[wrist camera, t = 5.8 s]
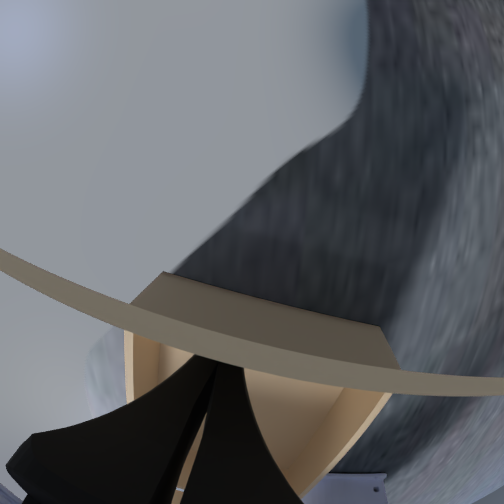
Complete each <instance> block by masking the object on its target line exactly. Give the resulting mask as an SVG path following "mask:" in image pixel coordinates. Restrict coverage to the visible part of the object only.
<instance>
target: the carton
mask: <svg viewBox="0 0 504 504" xmlns="http://www.w3.org/2000/svg"><path fill="white" fill-rule="evenodd" d="M130 305H133V306H136V307H139V308H141V309H144V310H147V311H150V312H153V313H156V314H159V315H162V316H165V317H168V318H171V319H174V320H178V321H181V322H184V323H187V324H190V325H194V326H197V327H200V328H204V329H207V330H211V331H214V332H218V333H221V334H225V335H229V336H232V337H236V338H240V339H244V340H247V341H251V342H255V343H259V344H263V345H268V346H272V347H276V348H280V349H285V350H289V351H294V352H298V353H303V354H308V355H313V356H318V357H323V358H328V359H333V360H339V361H344V362H350V363H356V364H362V365H368V366H375V367H382V368H389V369H396V370H401V368H400V366H399V364H398V362H397V360H396V358H395V356H394V354H393V352H392V350H391V348H390V346H389V344H388V342H387V340H386V338H385V336H384V334H383V332H382V330H381V328H380V326H375V325H370V324H365V323H361V322H356V321H352V320H347V319H343V318H338V317H334V316H330V315H325V314H321V313H317V312H313V311H308V310H304V309H300V308H296V307H292V306H288V305H284V304H280V303H276V302H272V301H268V300H264V299H260V298H256V297H253V296H249V295H245V294H241V293H238V292H234V291H230V290H227V289H223V288H219V287H216V286H212V285H209V284H205V283H201V282H198V281H194V280H191V279H188V278H184V277H181V276H177V275H174V274H171V273H167V272H164V271H163V272H162V273H161V274H160V275H159V276H158V277H157V278H156V279H155V280H154V281H153V282H152V283H151V284H150V285H148V286H147V288H145V289H144V290H143V291H142V292H141V293H140V294H139V295H138V296H137V297H136V298H135V299H134V300H133V301H132V302H131V303H130ZM124 349H125V380H126V397H127V404H128V403H130V402H132V401H134V400H135V399H137V398H139V397H141V396H142V395H144V394H145V393H147V392H149V391H150V390H152V389H153V388H154V387H156V386H157V385H159V384H160V383H161V382H163V381H164V380H165V379H167V378H168V377H169V376H171V375H172V374H173V373H174V372H175V371H177V370H178V369H179V368H180V367H181V366H182V365H184V364H185V363H186V362H187V361H188V360H189V359H190V358H191V357H192V356H193V355H194V354H193V353H190V352H186V351H183V350H180V349H177V348H174V347H171V346H168V345H165V344H162V343H159V342H156V341H153V340H151V339H148V338H145V337H142V336H139V335H137V334H134V333H131V332H129V331H126V330H124ZM244 373H245V380H246V385H247V390H248V394H249V398H250V402H251V405H252V409H253V412H254V415H255V418H256V421H257V424H258V426H259V429H260V431H261V434H262V436H263V438H264V440H265V443H266V445H267V447H268V449H269V451H270V453H271V455H272V457H273V459H274V460H275V462H276V464H277V465H278V467H279V469H280V470H281V472H282V473H283V475H284V477H285V478H286V480H287V481H288V483H289V484H290V486H291V487H292V489H293V490H294V491H295V493H296V494H297V495H298V497H299V498H300V499H302V498H303V497H304V496H305V495H306V494H307V493H308V492H309V491H310V490H311V489H312V488H313V487H315V486H316V485H317V484H318V483H319V482H320V481H321V480H322V479H323V478H324V477H325V476H326V475H327V473H328V472H329V471H330V470H331V469H332V468H333V467H334V466H335V465H336V464H337V463H338V462H339V461H340V460H341V458H342V457H343V456H344V455H345V454H346V453H347V452H348V451H349V449H350V448H351V447H352V446H353V445H354V444H355V442H356V441H357V440H358V439H359V438H360V436H361V435H362V434H363V433H364V431H365V430H366V429H367V428H368V426H369V425H370V424H371V422H372V421H373V420H374V419H375V417H376V416H377V415H378V413H379V412H380V410H381V409H382V408H383V406H384V405H385V404H386V402H387V401H388V399H389V398H390V396H391V395H392V393H385V392H375V391H367V390H358V389H351V388H344V387H337V386H331V385H324V384H318V383H313V382H307V381H302V380H297V379H292V378H287V377H282V376H277V375H273V374H268V373H264V372H259V371H255V370H251V369H247V368H244ZM205 419H206V415H205V417H204V420H203V422H202V424H201V426H200V429H199V431H198V433H197V436H196V438H195V440H194V442H193V445H192V447H191V449H190V451H189V454H188V456H187V458H186V461H185V463H184V466H183V468H182V471H181V474H180V477H179V481H178V484H177V488H181V489H184V490H185V487H186V484H187V481H188V478H189V475H190V472H191V469H192V466H193V463H194V460H195V457H196V454H197V451H198V448H199V445H200V442H201V439H202V435H203V429H204V424H205Z"/></svg>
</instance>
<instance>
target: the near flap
mask: <svg viewBox="0 0 504 504" xmlns="http://www.w3.org/2000/svg"><path fill="white" fill-rule="evenodd" d="M0 270H1V271H2V272H4V273H6V274H7V275H9V276H11V277H13V278H15V279H16V280H18V281H20V282H22V283H24V284H25V285H27V286H29V287H31V288H33V289H35V290H37V291H39V292H41V293H43V294H45V295H47V296H49V297H51V298H53V299H55V300H57V301H59V302H61V303H63V304H65V305H67V306H70V307H72V308H74V309H76V310H78V311H81V312H83V313H85V314H87V315H90V316H92V317H94V318H97V319H99V320H101V321H104V322H106V323H109V324H111V325H114V326H116V327H119V328H121V329H124V330H126V331H129V332H131V333H134V334H137V335H139V336H142V337H145V338H148V339H151V340H153V341H156V342H159V343H162V344H165V345H168V346H171V347H174V348H177V349H180V350H183V351H186V352H190V353H193V354H196V355H199V356H203V357H206V358H210V359H213V360H217V361H220V362H224V363H228V364H231V365H235V366H239V367H243V368H247V369H251V370H255V371H259V372H264V373H268V374H273V375H277V376H282V377H287V378H292V379H297V380H302V381H307V382H313V383H318V384H324V385H331V386H337V387H344V388H351V389H358V390H367V391H375V392H385V393H396V394H409V395H426V396H497V395H504V378H496V377H471V376H455V375H442V374H431V373H421V372H412V371H404V370H396V369H389V368H382V367H375V366H368V365H362V364H356V363H350V362H344V361H339V360H333V359H328V358H323V357H318V356H313V355H308V354H303V353H298V352H294V351H289V350H285V349H280V348H276V347H272V346H268V345H263V344H259V343H255V342H251V341H247V340H244V339H240V338H236V337H232V336H229V335H225V334H221V333H218V332H214V331H211V330H207V329H204V328H200V327H197V326H194V325H190V324H187V323H184V322H181V321H178V320H174V319H171V318H168V317H165V316H162V315H159V314H156V313H153V312H150V311H147V310H144V309H141V308H139V307H136V306H133V305H130V304H127V303H125V302H122V301H119V300H116V299H114V298H111V297H108V296H106V295H103V294H101V293H98V292H95V291H93V290H91V289H88V288H86V287H83V286H81V285H78V284H76V283H73V282H71V281H69V280H66V279H64V278H62V277H59V276H57V275H55V274H52V273H50V272H48V271H46V270H44V269H41V268H39V267H37V266H35V265H33V264H31V263H28V262H26V261H24V260H22V259H20V258H18V257H16V256H14V255H11V254H10V253H8V252H6V251H4V250H2V249H0Z"/></svg>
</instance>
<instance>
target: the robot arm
mask: <svg viewBox="0 0 504 504" xmlns="http://www.w3.org/2000/svg"><path fill="white" fill-rule="evenodd" d="M205 415H206V419H205V424H204V429H203V435H202V439H201V442H200V445H199V448H198V451H197V454H196V457H195V460H194V463H193V466H192V469H191V472H190V475H189V478H188V481H187V484H186V487H185V490H184V493H183V496H182V498H181V501H180V504H388V501H387V496H386V491H385V486H384V481H383V480H384V479H385V478H386V477H387V475H386V473H377V474H335V473H327V475H326V476H325V477H324V478H323V479H322V480H321V481H320V482H319V483H318V484H317V485H316V486H315V487H313V488H312V489H311V490H310V491H309V492H308V493H307V494H306V495H305V496H304V497H303V498H302V499H300V498H299V497H298V495H297V494H296V493H295V491H294V490H293V489H292V487H291V486H290V484H289V483H288V481H287V480H286V478H285V477H284V475H283V473H282V472H281V470H280V469H279V467H278V465H277V464H276V462H275V460H274V459H273V457H272V455H271V453H270V451H269V449H268V447H267V445H266V443H265V440H264V438H263V436H262V434H261V431H260V429H259V426H258V424H257V421H256V418H255V415H254V412H253V409H252V405H251V402H250V398H249V394H248V390H247V385H246V380H245V373H244V368H243V367H239V366H235V365H231V364H228V363H224V362H220V361H217V360H213V359H210V358H206V357H203V356H199V355H196V354H194V355H193V356H192V357H191V358H190V359H189V360H188V361H187V362H186V363H185V364H184V365H182V366H181V367H180V368H179V369H178V370H177V371H175V372H174V373H173V374H172V375H171V376H169V377H168V378H167V379H165V380H164V381H163V382H161V383H160V384H159V385H157V386H156V387H154V388H153V389H152V390H150V391H149V392H147V393H145V394H144V395H142V396H141V397H139V398H137V399H135V400H134V401H132V402H130V403H128V404H126V405H124V406H122V407H120V408H118V409H116V410H114V411H112V412H110V413H107V414H105V415H102V416H100V417H97V418H94V419H91V420H89V421H86V422H83V423H80V424H76V425H74V426H70V427H66V428H61V429H56V430H51V431H46V432H40V433H34V434H32V435H31V436H30V437H29V438H28V439H27V440H26V441H25V442H24V443H23V444H22V445H21V446H20V447H19V448H18V450H17V451H16V452H15V453H14V455H13V456H12V457H11V459H10V460H9V461H8V463H7V464H6V469H7V471H8V473H9V474H10V475H11V477H12V478H13V479H14V480H15V481H16V482H17V483H18V484H19V485H20V487H22V489H23V490H24V491H25V492H26V493H27V494H28V495H27V496H26V498H25V499H24V501H22V500H21V499H19V498H18V497H17V496H15V495H14V494H13V493H12V492H10V491H9V490H8V489H7V488H6V487H4V486H3V485H2V484H1V483H0V504H171V503H172V499H173V496H174V493H175V490H176V487H177V484H178V481H179V477H180V474H181V471H182V468H183V466H184V463H185V461H186V458H187V456H188V454H189V451H190V449H191V447H192V445H193V442H194V440H195V438H196V436H197V433H198V431H199V429H200V426H201V424H202V422H203V420H204V417H205Z"/></svg>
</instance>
